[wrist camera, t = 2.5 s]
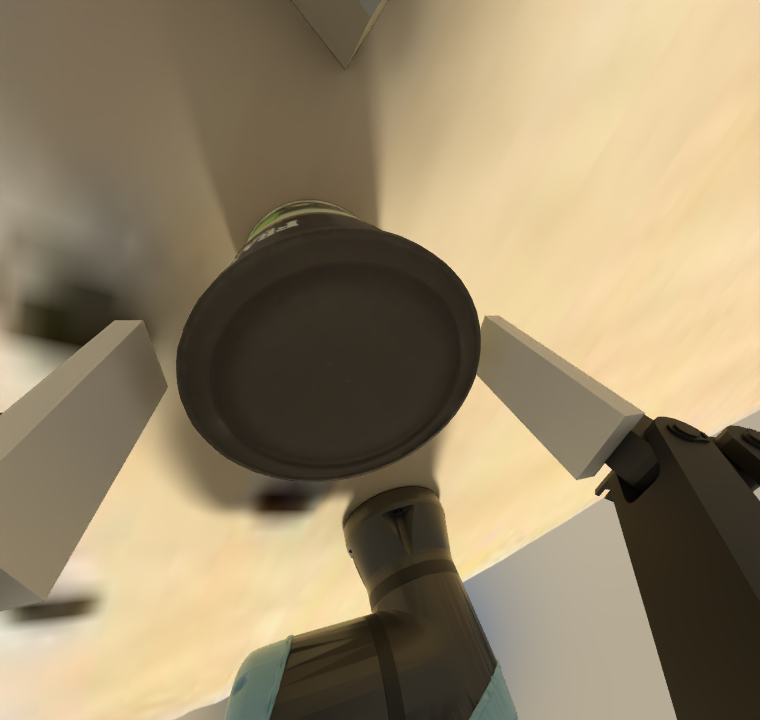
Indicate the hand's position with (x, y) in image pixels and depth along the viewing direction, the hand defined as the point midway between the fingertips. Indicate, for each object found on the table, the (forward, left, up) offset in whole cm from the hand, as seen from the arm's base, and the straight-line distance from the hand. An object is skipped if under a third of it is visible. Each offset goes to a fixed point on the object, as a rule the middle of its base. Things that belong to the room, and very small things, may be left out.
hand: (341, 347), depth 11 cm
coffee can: (0, 0, -12) cm, 12 cm away
